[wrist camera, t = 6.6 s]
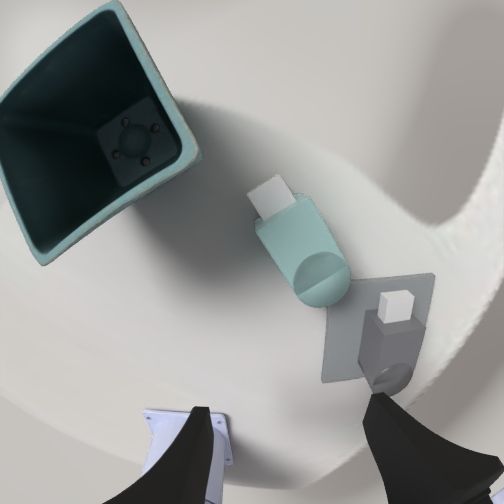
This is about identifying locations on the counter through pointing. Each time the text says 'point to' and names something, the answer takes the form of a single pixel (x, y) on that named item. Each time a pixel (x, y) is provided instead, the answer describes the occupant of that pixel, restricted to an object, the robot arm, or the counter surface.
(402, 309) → the white-capped grey post
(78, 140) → the flower pot
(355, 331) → the coaster
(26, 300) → the counter surface
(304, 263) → the teal plug
